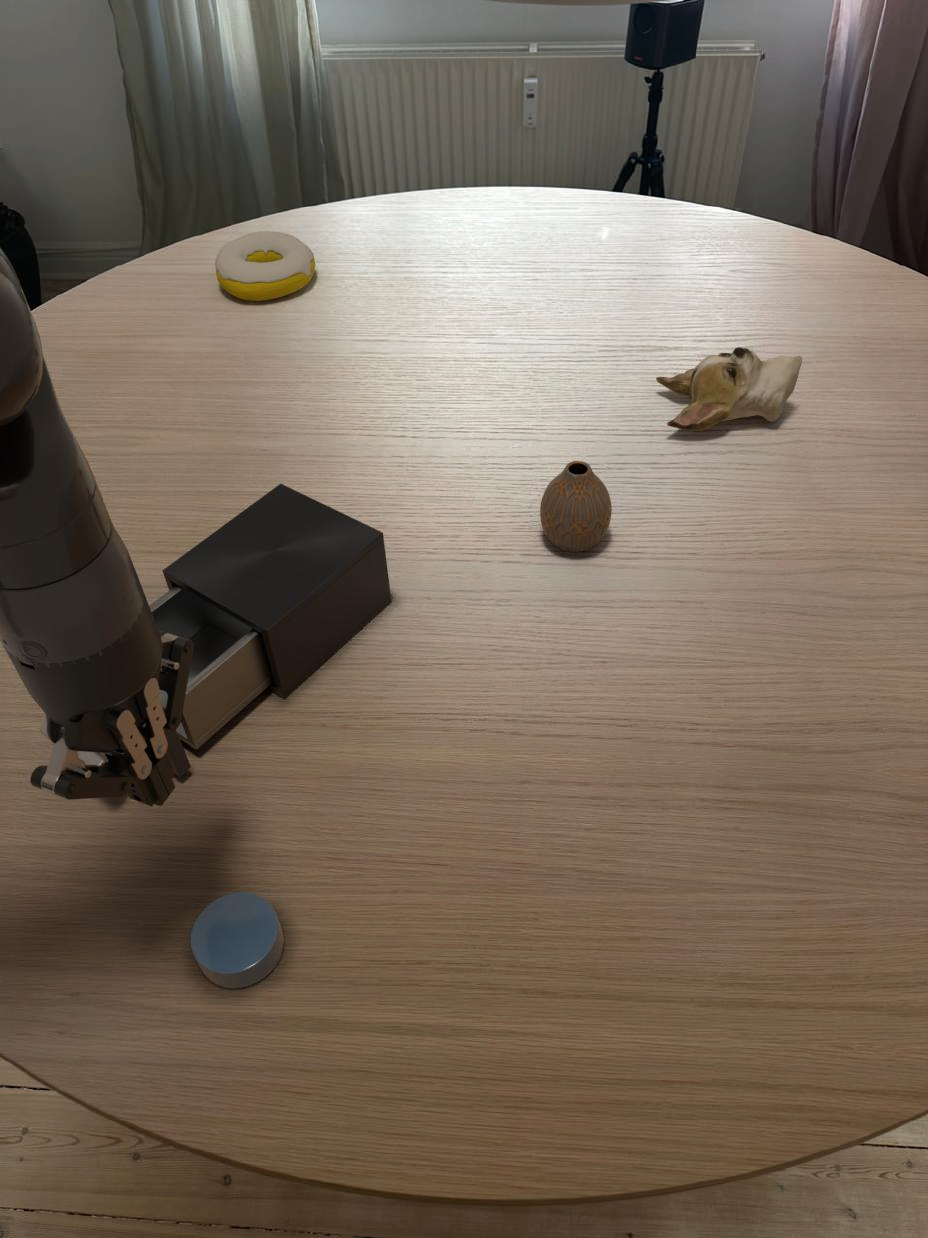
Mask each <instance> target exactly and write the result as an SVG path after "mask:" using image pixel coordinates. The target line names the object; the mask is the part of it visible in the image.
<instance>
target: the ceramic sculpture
mask: <svg viewBox="0 0 928 1238" xmlns="http://www.w3.org/2000/svg"><path fill="white" fill-rule="evenodd" d="M802 364H803V357H802V356H801V355H795V356H787V355H780V356H779V355H778V356H776V357H775V356H774V357H771V358H768V359H765V360H761V359H760V358H759V356H758V354H757V353H756V352H754V351H753V350H750V349H749V348H746V347H739V346H738V347H735V348H734V349H733V351H732V352H731V353H730V352H719V354H711V355H708V356H706V357H705V358H704V359H702V360H701V361H700V362H699V363H698V364H696V366H695V367H694V368H690V369H689V370H688V369H687V370H686V371H684V372H683V373H678V374H676V375H674V376H673V377H668V376H667V377H666V376H657V377H655V380H656V382H657V383H659V384H660V385H661V386H663V387H665V388H666V389H668V390H669V391H671V392H674V393H675V394H678V395H680V396H686V397H687V396H689V399H690V404H689V405H687V406H685V407H683V408H682V410H681V411H680V412H679V413H678V414H677V415H676V417H675V418H674V419H672V420H670V421H668V422H667V423H666V425H667V427H671V428H675V429H680V430H685V431H691V432H692V431H693V432H694V431H695V432H702V431H705V430H707V429H710V428H712V427H714V426H716V425H717V424H720V423H722V422H723V421H725V422H726V421H730V420H736V419H741V418H747V417H753V416H761V417H763V418H764V419H765V420H766V421H768V422H775V421H777V420H778V418H779V417H780V416H781V414H782V412H783V408H784V406H785V405H786V403H787V401H788V400H789V398H790V397H791V395H792V394H793V393H794V391H795V387H796V385H797V382H798V378H799V374H800V369H801V368H802Z"/></svg>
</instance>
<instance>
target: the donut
mask: <svg viewBox="0 0 928 1238" xmlns="http://www.w3.org/2000/svg"><path fill="white" fill-rule="evenodd" d="M214 266H215V275H216V278H217V282H218V283H219V286H221V287H222V289H224V291H226V292H227V293H228V294H230V295H232V296H233V297H235V298H238V299H241V300H243V301H251V302H260V301H262V302H263V301H269V300H274V299H278V298H282V297H285V296H288V295H291V294H293V293H295V292H298V291H299V290H301V289H303V288H304V287H305V286H306V285H308V283H309V282H310V281H311V279H312V278H313V276H314V273H315V269H316V259H315V255H314V253H313V251H312V249H311V248H310V247H309V246H308V245H307V244H306V243H304V242H302V241H301V240H300V239H299V238H298V237H296V236H294V235H292V234H289V233H285V232H280V231H269V230H264V231H254V232H250V233H247V234H244V235H241V236H239V237H237V238H235V239H233V240H231V241H229V242H228V243H226V244H224V245H223V246H222V247H221V248H220V249H219V250H218V253H217V255H216V258H215V261H214Z"/></svg>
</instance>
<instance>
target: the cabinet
mask: <svg viewBox="0 0 928 1238" xmlns="http://www.w3.org/2000/svg"><path fill="white" fill-rule="evenodd" d="M162 573H163V577H164V580H165V582H166V586H167V587H168V591H169V590H171V589H172V588H173V587H175V586H176V585H179V586H181V587H182V588H184V589H186V590H188V591H189V592H191V593H193V594H195V595H196V596H198V597H200V598H201V599H203V600H205V601H207V602H208V603H210V604H212V605H213V606H215V607H217V608H219V609H220V610H222V611H224V612H226V613H227V614H229V615H231V616H232V617H234V618H236V619H238V620H239V621H241V622H243V623H244V624H246V625H248V626H250V627H251V628H253V629H255V630H257V631H258V632H260V633H262V637H263V640H264V644H265V648H266V652H267V655H268V659H269V663H270V667H271V670H272V674H273V678H274V681H273V682H272V683H271V684H270V685H269V686H268V687H267V688H266V689H267V690H269V691H271V692H272V693H274V694H275V695H277V696H279V697H280V698H282V699H284V700H285V699H286V698H288V696H290V695H291V694H292V693H293V692H294V691H295V690H296V689H297V688H298V687H299V686H301V685H302V684H303V683H304V682H305V681H306V680H307V679H308V678H309V677H310V676H312V675H313V674H314V673H315V672H316V671H317V670H318V669H319V668H321V666H323V665H324V664H325V663H326V662H327V661H328V660H329V659H330V658H331V657H333V656H334V655H335V654H336V653H337V652H338V651H339V650H340V649H341V648H342V647H344V646H345V645H346V644H347V643H348V642H349V641H350V640H351V639H352V638H353V637H355V636H356V635H357V634H358V633H359V632H360V631H361V630H362V629H364V628H365V627H366V625H368V624H369V623H370V622H371V621H372V620H373V619H375V617H376V616H378V615H379V614H380V613H381V612H382V611H384V609H385V608H387V606H389V604H390V603H392V593H391V586H390V585H391V584H390V578H389V570H388V561H387V555H386V545H385V538H384V532H382V531H381V530H379V529H377V528H374V527H372V526H371V525H368V524H366V523H364V522H362V521H360V520H358V519H356V518H354V517H351V516H350V515H347V514H345V513H343V512H341V511H339V510H337V509H335V508H333V507H331V506H329V505H327V504H324V503H322V502H320V501H318V500H316V499H314V498H311V497H310V496H308V495H306V494H304V493H302V492H299V491H298V490H296V489H293V488H291V487H289V486H287V485H285V484H283V483H279V484H278V485H276V486H275V487H274V488H273V489H271V490H270V491H268V492H267V493H266V494H264V495H263V496H262V497H260V498H259V499H258V500H256V501H255V502H253V503H252V504H251V505H249V506H248V507H247V508H245V509H244V510H242V511H241V512H240V513H238V514H237V515H236V516H234V517H233V518H232V519H230V520H229V521H227V522H226V523H225V524H223V525H222V526H221V527H219V528H218V529H217V530H215V531H214V532H212V533H211V534H210V535H208V536H207V537H206V538H204V539H203V540H201V541H200V542H199V543H198V544H196V545H195V546H193V547H192V548H191V549H189V550H188V551H186V552H185V553H183V555H181V556H180V557H179V558H177V559H176V560H175V561H172V562H171V563H170V564H169V565H168V566H166V567H165V568H163V569H162Z"/></svg>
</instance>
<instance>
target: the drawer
mask: <svg viewBox="0 0 928 1238" xmlns="http://www.w3.org/2000/svg"><path fill="white" fill-rule="evenodd" d="M149 607H150V610H151V612H152V615H153V618H154V620H155V623H156V626H157V628H158V630H160V631H164V632H167V633H170V634H173V635H177V636H180V637H183V638H186V639H189V640H192V641H193V644H194V647H193V653H192V659H191V665H190V671H189V677H188V683H187V689H186V695H185V701H184V707H183V713H182V719H181V723H180V725H179V727H178V728H177V729H176V730H174V731H172V730H169V732H168V734H167V736H166V740H167V743H168V747H167V751H166V753H167V756H168V758H169V762H170V763H171V766H172V768H173V770H174V775H176V776H178V778H181V777H182V776H183V775H185V774H186V773H187V771H189V770H190V769H191V767H192V766H191V763H190V761H189V758H188V756H187V754H186V751H185V749H184V746H183V743H182V741H183V742H184V743H186V744H187V745H188V746H190V747H191V748H193V749H194V750H198V749H200V748H201V747H202V746H203V745H204V744H205V743H206V742H207V741H208V740H209V739H211V738H212V737H213V736H214V735H215V734H217V733H218V731H220V730H221V729H222V728H223V727H224V726H225V725H226V724H228V722H230V721H231V720H232V719H233V718H234V717H235V716H236V715H237V714H239V713H240V712H241V711H242V710H243V709H244V708H245V707H247V706H248V705H249V704H250V703H251V702H253V700H255V699H256V698H257V697H258V696H259V695H260V694H261V693H262V692H264V691H265V690H266V689H267V687H268V686H269V685H270V684H271V683H272V682H273V681H274V678H273V674H272V670H271V667H270V663H269V659H268V655H267V652H266V648H265V644H264V640H263V637H262V633H260V632H258V631H257V630H255V629H253V628H251V627H250V626H248V625H246V624H244V623H243V622H241V621H239V620H238V619H236V618H234V617H232V616H231V615H229V614H227V613H226V612H224V611H222V610H220V609H219V608H217V607H215V606H213V605H212V604H210V603H208V602H207V601H205V600H203V599H201V598H200V597H198V596H196V595H195V594H193V593H191V592H189V591H188V590H186V589H184V588H182V587H181V586H179V585H176V586H175V587H173V588H172V589H171V590H169V589H168V591H167V592H165V593H164V594H162V596H160V597H159V598H157V599H156V600H155V601H153V602H152V603H150V604H149ZM159 698H160V701H161V704H162V707H164V708H166V705H167V699H168V695H167V693H166V692H165V691H163V690H160V694H159ZM39 732H40V734H42V735H43V736H44V737H46V738H47V739H48V740H50V739H49V737H48V735H47V719H45V720H43V722H42V723H41V724H40V726H39ZM78 758H79V759H80V760H82V761H84V762H85V765H98V766H100V767H101V766H102V765H104V764H105V761H104V760H103V758H102V757H101V755H100V753H99V752H85V751H78Z"/></svg>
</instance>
